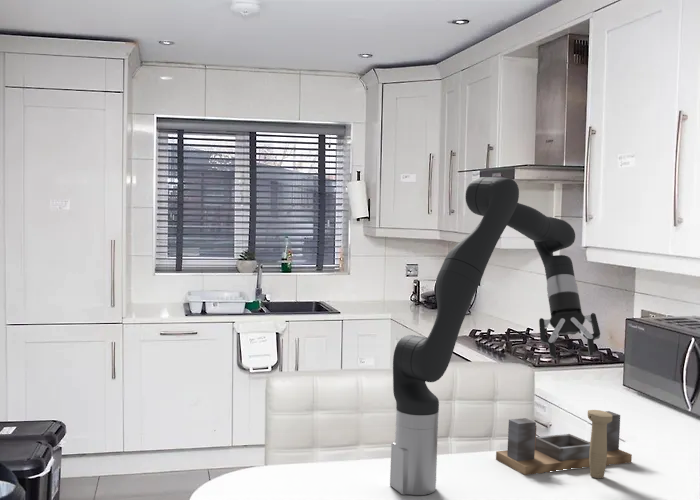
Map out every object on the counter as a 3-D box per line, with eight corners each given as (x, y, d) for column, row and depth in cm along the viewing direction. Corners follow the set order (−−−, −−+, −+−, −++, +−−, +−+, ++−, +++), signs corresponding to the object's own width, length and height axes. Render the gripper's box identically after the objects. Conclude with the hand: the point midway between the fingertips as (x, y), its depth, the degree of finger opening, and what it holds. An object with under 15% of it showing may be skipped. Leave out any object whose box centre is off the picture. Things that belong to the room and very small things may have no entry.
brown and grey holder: (524, 475, 173) (526, 428, 172) (495, 459, 184) (497, 415, 183) (631, 462, 185) (633, 418, 184) (598, 448, 196) (600, 407, 196)
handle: (599, 471, 177) (602, 409, 176) (613, 481, 171) (616, 416, 170) (580, 472, 176) (583, 410, 175) (594, 481, 170) (597, 417, 169)
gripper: (534, 293, 186) (543, 355, 179) (593, 287, 183) (604, 350, 176) (534, 303, 192) (543, 364, 185) (591, 298, 190) (602, 359, 183)
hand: (573, 357), depth 181 cm, fingers open, 8 cm apart
